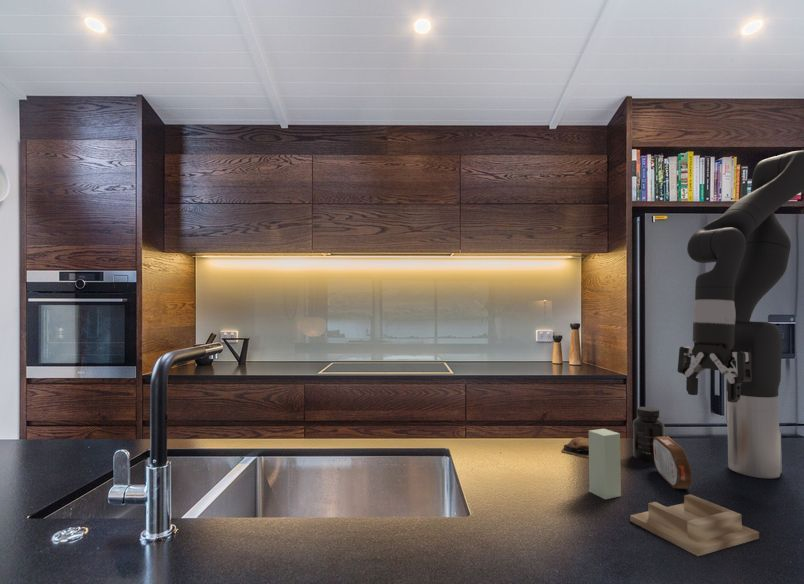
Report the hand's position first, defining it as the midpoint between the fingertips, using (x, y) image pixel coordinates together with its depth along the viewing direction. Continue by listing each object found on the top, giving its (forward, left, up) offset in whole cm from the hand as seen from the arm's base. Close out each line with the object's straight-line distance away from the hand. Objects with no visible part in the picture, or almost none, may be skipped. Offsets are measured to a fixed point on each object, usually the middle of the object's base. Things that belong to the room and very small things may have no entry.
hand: (711, 398), depth 98 cm
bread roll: (+11, -26, -18) cm, 33 cm away
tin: (+9, -3, -18) cm, 20 cm away
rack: (+25, +13, -17) cm, 33 cm away
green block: (+27, -3, -17) cm, 32 cm away
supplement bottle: (+1, -15, -17) cm, 23 cm away
